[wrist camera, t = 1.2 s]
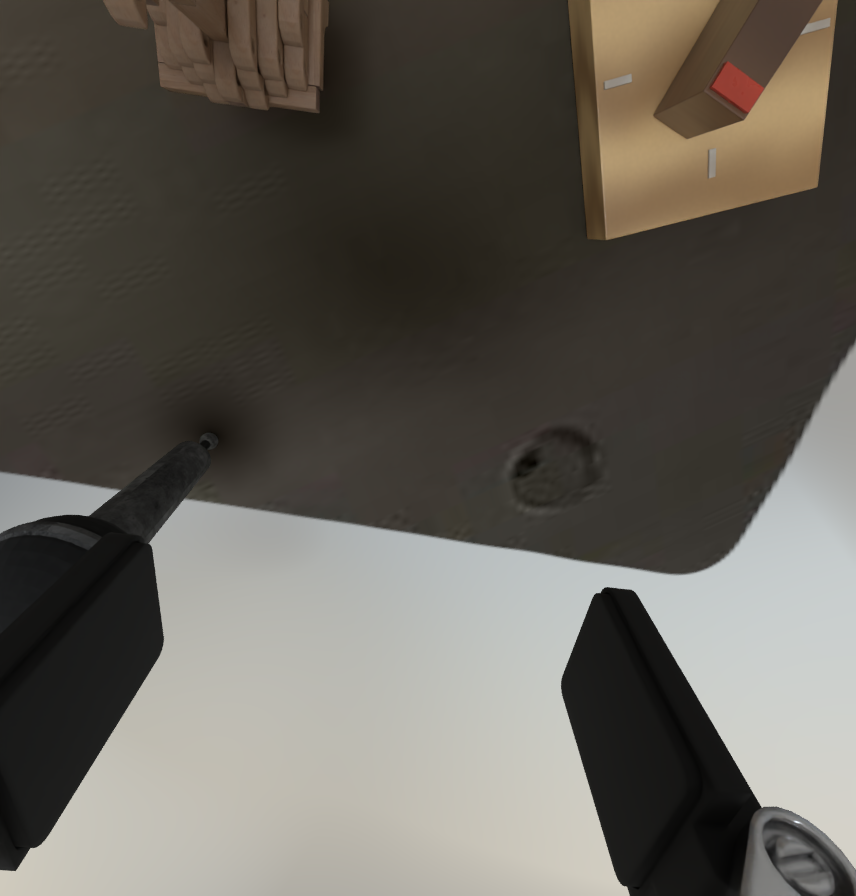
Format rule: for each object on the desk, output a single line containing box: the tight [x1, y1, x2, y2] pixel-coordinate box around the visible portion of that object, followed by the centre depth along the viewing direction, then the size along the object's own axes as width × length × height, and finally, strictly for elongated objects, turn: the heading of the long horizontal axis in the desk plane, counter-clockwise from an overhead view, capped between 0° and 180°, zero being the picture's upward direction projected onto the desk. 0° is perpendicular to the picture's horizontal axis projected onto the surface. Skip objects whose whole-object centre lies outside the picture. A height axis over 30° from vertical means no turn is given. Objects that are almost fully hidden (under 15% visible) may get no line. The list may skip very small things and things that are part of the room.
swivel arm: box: [653, 0, 823, 139], centre depth 21 cm, size 7×2×5 cm, turn 153°
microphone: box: [0, 433, 218, 634], centre depth 27 cm, size 7×7×20 cm
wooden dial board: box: [568, 0, 838, 240], centre depth 25 cm, size 15×12×4 cm
